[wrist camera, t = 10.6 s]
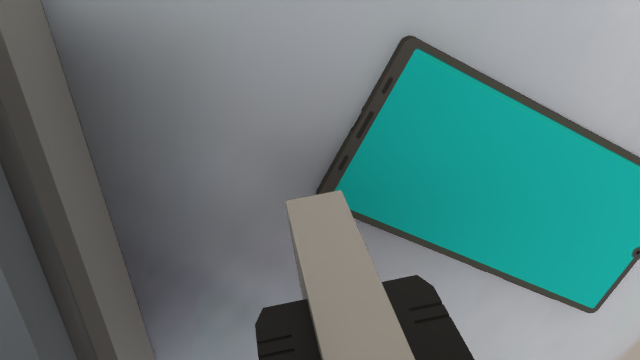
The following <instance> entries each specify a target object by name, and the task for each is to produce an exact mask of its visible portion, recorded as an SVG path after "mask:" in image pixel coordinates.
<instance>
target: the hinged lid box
mask: <svg viewBox="0 0 640 360" xmlns="http://www.w3.org/2000/svg"><path fill="white" fill-rule="evenodd" d="M0 98H1V101H2V103H3V106H4V109H5V111H6V114H7V117H8V119H9V122H10V125H11V127H12V130H13V133H14V135H15V138H16V141H17V143H18V146H19V149H20V151H21V154H22V157H23V159H24V162H25V165H26V167H27V170H28V173H29V175H30V178H31V181H32V183H33V186H34V189H35V191H36V194H37V197H38V199H39V202H40V205H41V207H42V210H43V213H44V216H45V218H46V221H47V224H48V226H49V229H50V232H51V234H52V237H53V240H54V242H55V245H56V248H57V250H58V253H59V256H60V258H61V261H62V264H63V266H64V269H65V272H66V274H67V277H68V280H69V282H70V285H71V288H72V290H73V293H74V296H75V298H76V301H77V304H78V306H79V309H80V312H81V314H82V317H83V320H84V322H85V325H86V328H87V330H88V333H89V336H90V338H91V341H92V344H93V346H94V349H95V352H96V354H97V357H98V360H156V359H155V356H154V353H153V350H152V347H151V343H150V340H149V337H148V334H147V331H146V328H145V325H144V322H143V318H142V315H141V312H140V309H139V306H138V303H137V300H136V297H135V294H134V290H133V287H132V284H131V281H130V278H129V275H128V272H127V269H126V265H125V262H124V259H123V256H122V253H121V250H120V247H119V244H118V240H117V237H116V234H115V231H114V228H113V225H112V222H111V219H110V216H109V212H108V209H107V206H106V203H105V200H104V197H103V194H102V191H101V187H100V184H99V181H98V178H97V175H96V172H95V169H94V166H93V162H92V159H91V156H90V153H89V150H88V147H87V144H86V141H85V138H84V134H83V131H82V128H81V125H80V122H79V119H78V116H77V113H76V109H75V106H74V103H73V100H72V97H71V94H70V91H69V88H68V84H67V81H66V78H65V75H64V72H63V69H62V66H61V63H60V60H59V56H58V53H57V50H56V47H55V44H54V41H53V38H52V35H51V31H50V28H49V25H48V22H47V19H46V16H45V13H44V10H43V6H42V3H41V0H0Z"/></svg>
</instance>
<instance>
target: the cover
mask: <svg viewBox="0 0 640 360" xmlns="http://www.w3.org/2000/svg"><path fill="white" fill-rule="evenodd" d="M0 360H98V357H97V354H96V352H95V349H94V346H93V344H92V341H91V338H90V336H89V333H88V330H87V328H86V325H85V322H84V320H83V317H82V314H81V312H80V309H79V306H78V304H77V301H76V298H75V296H74V293H73V290H72V288H71V285H70V282H69V280H68V277H67V274H66V272H65V269H64V266H63V264H62V261H61V258H60V256H59V253H58V250H57V248H56V245H55V242H54V240H53V237H52V234H51V232H50V229H49V226H48V224H47V221H46V218H45V216H44V213H43V210H42V207H41V205H40V202H39V199H38V197H37V194H36V191H35V189H34V186H33V183H32V181H31V178H30V175H29V173H28V170H27V167H26V165H25V162H24V159H23V157H22V154H21V151H20V149H19V146H18V143H17V141H16V138H15V135H14V133H13V130H12V127H11V125H10V122H9V119H8V117H7V114H6V111H5V109H4V106H3V103H2V101H1V98H0Z"/></svg>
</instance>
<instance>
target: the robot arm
mask: <svg viewBox="0 0 640 360" xmlns="http://www.w3.org/2000/svg"><path fill="white" fill-rule="evenodd" d="M286 207H287V213H288V218H289V224H290V230H291V235H292V241H293V247H294V253H295V258H296V264H297V270H298V275H299V281H300V287H301V291H302V295H303V300H300V301H295V302H290V303H285V304H280V305H275V306H270V307H265V308H263V309H262V311H261V313H260V315H259V318H258V320H257V322H256V324H255V328H256V339H257V349H258V357H259V360H474V358H473V356H472V354H471V353H470V351H469V349H468V347H467V345H466V344H465V342H464V340H463V338H462V337H461V335H460V333H459V331H458V329H457V328H456V326H455V324H454V322H453V321H452V319H451V317H449V313H448V312H447V310H446V308H445V306H444V305H442V301H441V299H440V297H439V296H438V294H437V292H436V290H435V289H434V287H433V286H432V285H431V284H429V283H428V282H426V281H425V280H423V279H422V278H421V277H419V276H418V275H414V276H409V277H405V278H400V279H395V280H390V281H385V282H381V280H380V278H379V276H378V273H377V271H376V269H375V266H374V264H373V262H372V259H371V257H370V255H369V253H368V250H367V248H366V246H365V243H364V241H363V239H362V236H361V234H360V232H359V230H358V227H357V225H356V223H355V220H354V218H353V216H352V213H351V211H350V209H349V207H348V204H347V202H346V200H345V197H344V195H343V193H342V190H339V191H334V192H329V193H324V194H318V195H313V196H308V197H302V198H297V199H292V200H287V201H286Z"/></svg>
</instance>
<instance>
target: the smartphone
mask: <svg viewBox="0 0 640 360" xmlns="http://www.w3.org/2000/svg"><path fill="white" fill-rule="evenodd" d="M339 190H342V193H343V195H344V197H345V200H346V202H347V204H348V207H349V209H350V211H351V213H352V216H353V218H355V219H358V220H360V221H363V222H365V223H367V224H370V225H372V226H375V227H377V228H380V229H382V230H385V231H387V232H390V233H392V234H395V235H397V236H400V237H402V238H404V239H407V240H409V241H412V242H414V243H417V244H419V245H422V246H424V247H427V248H429V249H432V250H434V251H437V252H439V253H441V254H444V255H446V256H449V257H451V258H454V259H456V260H459V261H461V262H464V263H466V264H469V265H471V266H473V267H475V268H477V269H480V270H482V271H485V272H488V273H491V274H493V275H496V276H498V277H501V278H503V279H505V280H507V281H509V282H512V283H514V284H517V285H519V286H522V287H524V288H527V289H529V290H532V291H534V292H537V293H539V294H542V295H544V296H547V297H549V298H551V299H554V300H557V301H560V302H562V303H565V304H567V305H570V306H572V307H575V308H577V309H580V310H582V311H585V312H587V313H594V312H596V311H597V310H598V309H599V308H600V307H601V305H602V304H603V303H604V302H605V300H606V299H607V298H608V297H609V295H610V294H611V293H612V292H613V290H614V289H615V288H616V287H617V285H618V284H619V283H620V282H621V280H622V279H623V278H624V277H625V275H626V274H627V273H628V272H629V270H630V269H631V268H632V267H633V265H634V264H635V263H636V262H637V260H639V259H640V158H639V157H637V156H635V155H634V154H632V153H630V152H628V151H626V150H624V149H622V148H621V147H619V146H617V145H615V144H613V143H611V142H609V141H607V140H606V139H604V138H602V137H600V136H598V135H596V134H594V133H593V132H591V131H589V130H587V129H585V128H583V127H581V126H580V125H578V124H576V123H574V122H572V121H570V120H568V119H566V118H565V117H563V116H561V115H559V114H557V113H555V112H553V111H552V110H550V109H548V108H546V107H544V106H542V105H540V104H539V103H537V102H535V101H533V100H531V99H529V98H527V97H526V96H524V95H522V94H520V93H518V92H516V91H514V90H512V89H511V88H509V87H507V86H505V85H503V84H501V83H499V82H498V81H496V80H494V79H492V78H490V77H488V76H486V75H485V74H483V73H481V72H479V71H477V70H475V69H473V68H471V67H470V66H468V65H466V64H464V63H462V62H460V61H458V60H457V59H455V58H453V57H451V56H449V55H447V54H445V53H444V52H442V51H440V50H438V49H436V48H434V47H432V46H430V45H429V44H427V43H425V42H423V41H421V40H419V39H417V38H416V37H413V36H406V37H404V38H403V39H402V40H401V41H400V43H399V44H398V46H397V48H396V50H395V52H394V53H393V55H392V57H391V59H390V61H389V62H388V64H387V66H386V68H385V70H384V71H383V73H382V75H381V77H380V78H379V80H378V82H377V84H376V86H375V87H374V89H373V91H372V93H371V95H370V96H369V98H368V100H367V102H366V104H365V105H364V107H363V109H362V113H361V115H360V117H359V119H358V120H357V122H356V124H355V126H354V127H352V129H351V130H350V132H349V134H348V136H347V138H346V139H345V141H344V143H343V145H342V146H341V148H340V150H339V152H338V154H337V155H336V157H335V159H334V161H333V163H332V164H331V166H330V168H329V170H328V172H327V173H326V175H325V177H324V179H323V180H322V182H321V184H320V186H319V188H318V189H317V193H316V194H317V195H318V194H324V193H329V192H334V191H339Z"/></svg>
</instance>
